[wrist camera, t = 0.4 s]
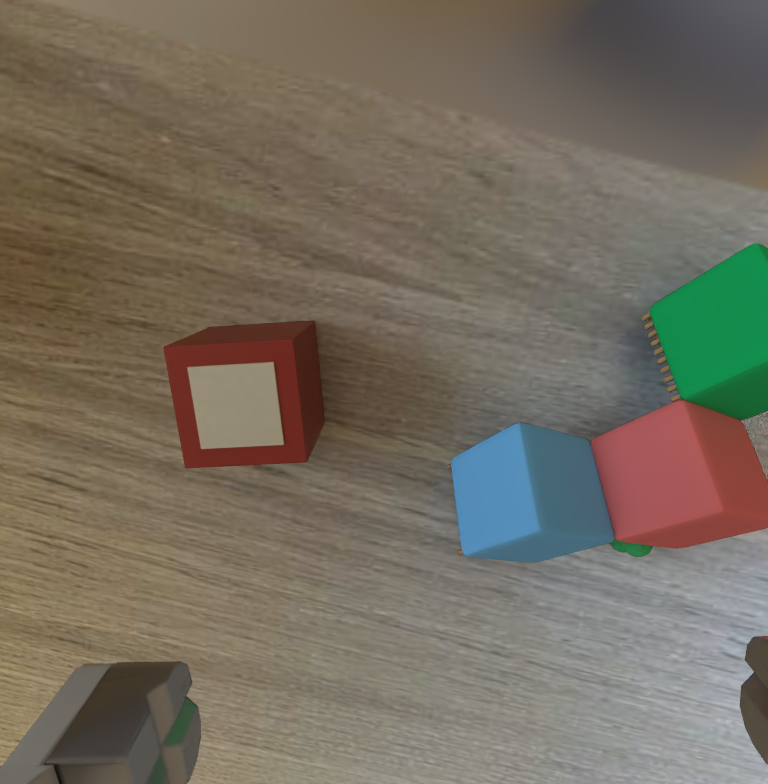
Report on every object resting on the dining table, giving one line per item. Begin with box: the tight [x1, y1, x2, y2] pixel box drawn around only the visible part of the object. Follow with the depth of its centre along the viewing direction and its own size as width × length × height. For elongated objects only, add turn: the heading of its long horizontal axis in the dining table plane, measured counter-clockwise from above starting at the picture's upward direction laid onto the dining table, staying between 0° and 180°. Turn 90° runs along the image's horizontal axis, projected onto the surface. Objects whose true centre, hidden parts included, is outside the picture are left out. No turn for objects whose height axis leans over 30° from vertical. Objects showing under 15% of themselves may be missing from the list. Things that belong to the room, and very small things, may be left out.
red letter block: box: [164, 321, 325, 468], centre depth 21 cm, size 4×4×5 cm
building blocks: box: [447, 244, 768, 562], centre depth 19 cm, size 8×8×12 cm
